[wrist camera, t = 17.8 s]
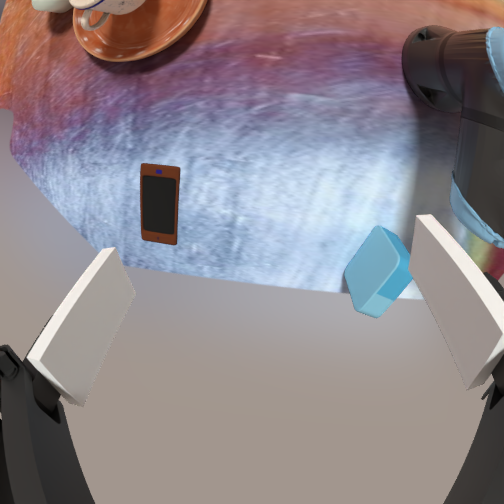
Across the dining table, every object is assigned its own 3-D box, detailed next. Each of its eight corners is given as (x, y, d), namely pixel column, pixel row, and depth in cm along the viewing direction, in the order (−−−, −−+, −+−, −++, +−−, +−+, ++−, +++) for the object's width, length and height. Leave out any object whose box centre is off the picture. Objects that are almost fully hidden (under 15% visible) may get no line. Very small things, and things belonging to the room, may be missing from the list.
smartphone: (179, 168, 45) (176, 246, 53) (181, 166, 45) (177, 243, 53) (139, 163, 44) (140, 240, 52) (141, 162, 45) (142, 237, 53)
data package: (360, 279, 55) (375, 322, 45) (342, 271, 54) (355, 315, 44) (395, 231, 49) (420, 270, 39) (377, 221, 48) (401, 259, 38)
